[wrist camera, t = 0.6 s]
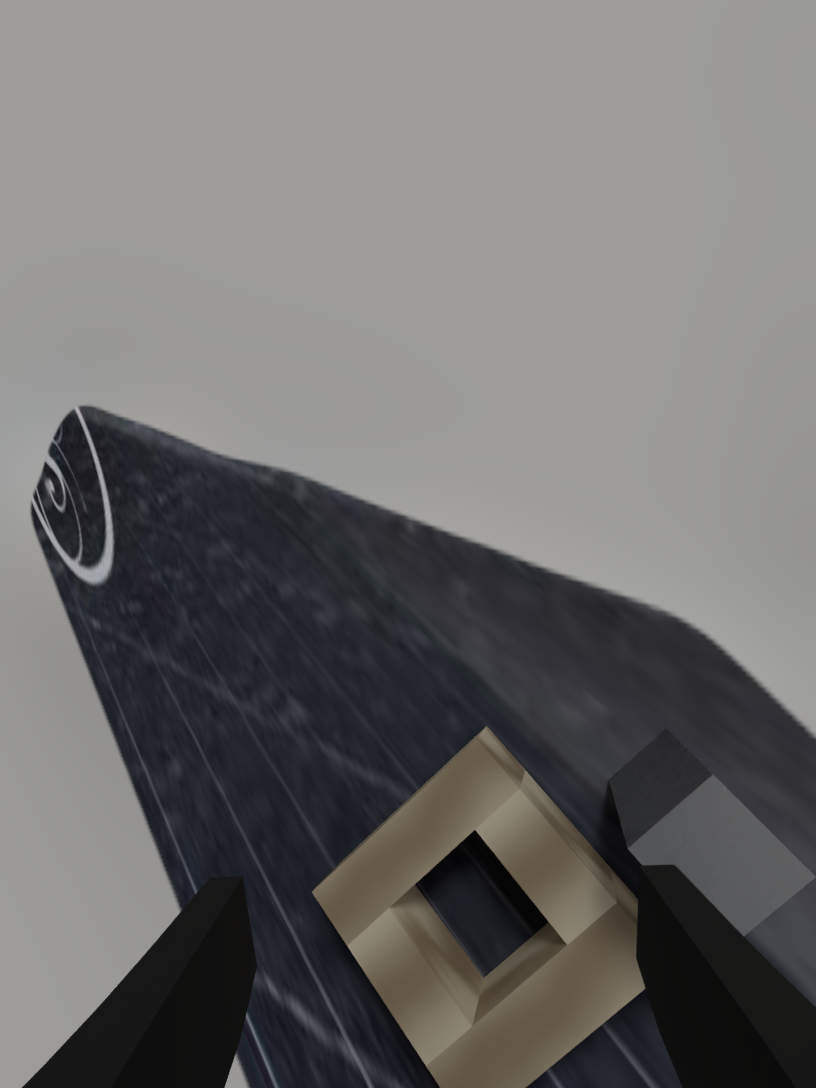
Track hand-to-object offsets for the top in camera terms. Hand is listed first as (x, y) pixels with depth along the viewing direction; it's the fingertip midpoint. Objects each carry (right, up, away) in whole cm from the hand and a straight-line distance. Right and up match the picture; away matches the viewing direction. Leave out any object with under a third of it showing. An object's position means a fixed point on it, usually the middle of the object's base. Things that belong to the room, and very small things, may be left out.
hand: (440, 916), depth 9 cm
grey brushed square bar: (+13, -5, +17) cm, 22 cm away
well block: (+4, -12, +18) cm, 22 cm away
